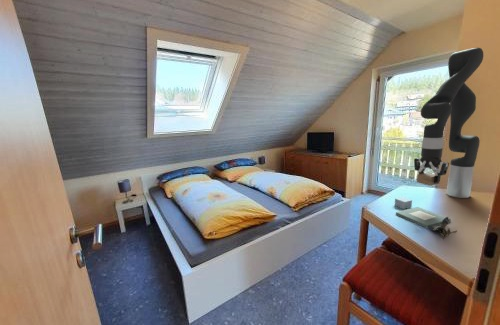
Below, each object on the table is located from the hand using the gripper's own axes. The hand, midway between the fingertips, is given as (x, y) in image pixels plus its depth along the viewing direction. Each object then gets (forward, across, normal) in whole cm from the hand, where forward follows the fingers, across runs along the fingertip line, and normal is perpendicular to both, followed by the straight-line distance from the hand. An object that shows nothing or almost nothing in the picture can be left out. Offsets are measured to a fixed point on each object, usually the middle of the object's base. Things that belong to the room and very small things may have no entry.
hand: (428, 181), depth 104 cm
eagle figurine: (+14, -18, +18) cm, 29 cm away
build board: (+14, -6, +12) cm, 19 cm away
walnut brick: (+1, 0, 0) cm, 1 cm away
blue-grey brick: (+14, +6, +8) cm, 17 cm away
